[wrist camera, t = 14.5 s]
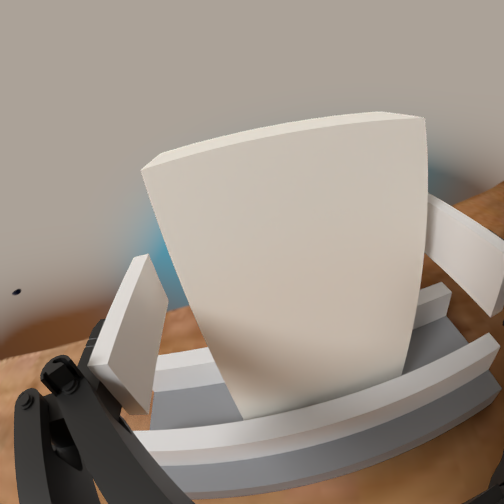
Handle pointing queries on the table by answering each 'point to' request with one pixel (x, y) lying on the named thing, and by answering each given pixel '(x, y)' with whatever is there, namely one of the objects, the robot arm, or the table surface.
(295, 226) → the door panel
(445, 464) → the table surface
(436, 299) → the track
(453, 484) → the table surface
